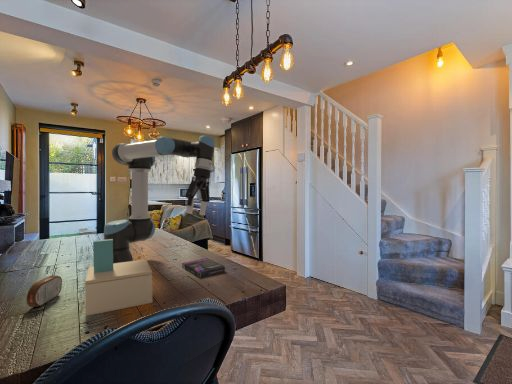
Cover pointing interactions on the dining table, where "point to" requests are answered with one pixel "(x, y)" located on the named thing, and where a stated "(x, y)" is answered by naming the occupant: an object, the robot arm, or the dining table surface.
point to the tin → (44, 291)
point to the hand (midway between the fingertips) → (195, 214)
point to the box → (203, 267)
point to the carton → (118, 294)
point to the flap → (113, 265)
